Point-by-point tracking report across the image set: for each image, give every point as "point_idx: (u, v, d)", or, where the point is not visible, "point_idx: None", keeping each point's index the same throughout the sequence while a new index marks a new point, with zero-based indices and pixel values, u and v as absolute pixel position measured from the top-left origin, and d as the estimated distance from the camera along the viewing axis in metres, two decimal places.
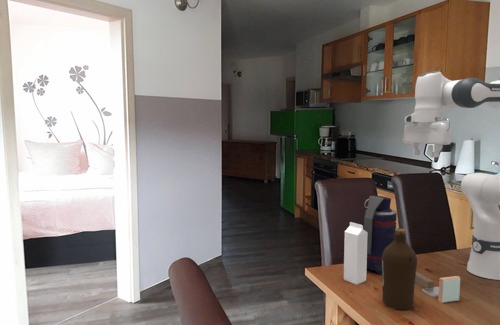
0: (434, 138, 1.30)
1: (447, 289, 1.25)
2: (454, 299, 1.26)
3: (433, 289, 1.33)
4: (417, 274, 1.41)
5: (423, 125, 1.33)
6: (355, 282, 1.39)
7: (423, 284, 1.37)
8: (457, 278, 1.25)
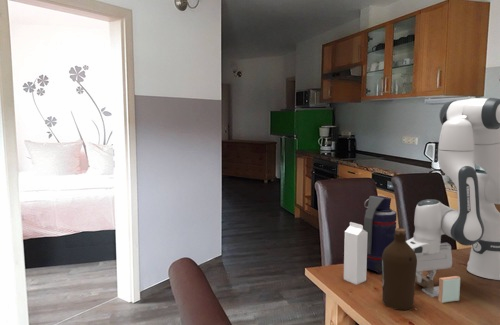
0: (443, 263, 1.36)
1: (447, 289, 1.25)
2: (454, 299, 1.26)
3: (433, 289, 1.33)
4: None
5: (435, 254, 1.34)
6: (355, 282, 1.39)
7: (423, 284, 1.37)
8: (457, 278, 1.25)
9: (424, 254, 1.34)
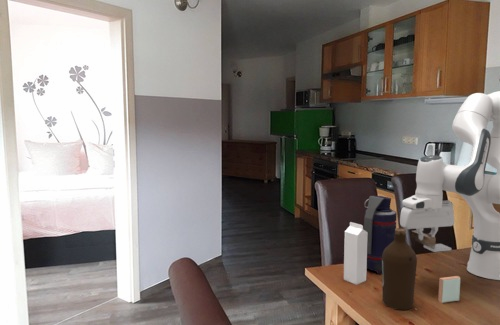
0: (445, 221, 1.35)
1: (447, 289, 1.25)
2: (454, 299, 1.26)
3: (435, 245, 1.31)
4: None
5: (437, 210, 1.32)
6: (355, 282, 1.39)
7: (424, 242, 1.35)
8: (457, 278, 1.25)
9: (426, 210, 1.32)
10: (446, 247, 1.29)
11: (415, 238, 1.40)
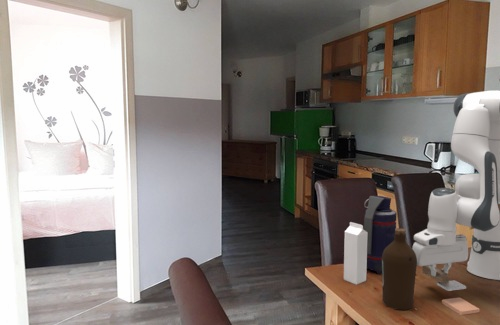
0: (458, 256, 1.29)
1: None
2: None
3: (449, 283, 1.26)
4: None
5: (450, 246, 1.27)
6: (355, 282, 1.39)
7: (437, 278, 1.29)
8: None
9: (439, 246, 1.26)
10: (460, 285, 1.24)
11: (427, 273, 1.34)
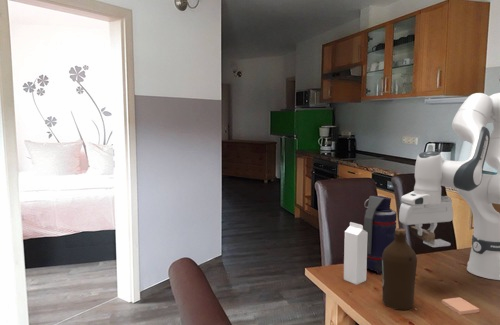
0: (444, 216, 1.35)
1: None
2: None
3: (434, 241, 1.32)
4: None
5: (435, 206, 1.33)
6: (355, 282, 1.39)
7: (423, 237, 1.35)
8: None
9: (425, 206, 1.33)
10: (445, 242, 1.30)
11: (414, 234, 1.40)
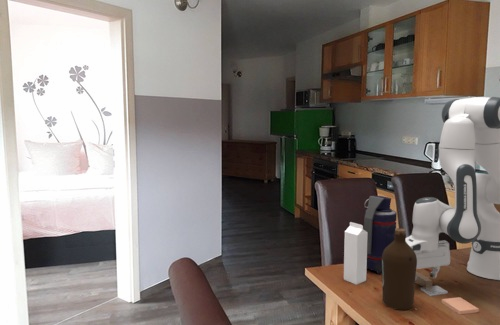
0: (441, 261, 1.37)
1: None
2: None
3: (432, 288, 1.34)
4: (416, 273, 1.42)
5: (433, 251, 1.35)
6: (355, 282, 1.39)
7: (421, 283, 1.37)
8: None
9: (422, 251, 1.35)
10: (442, 290, 1.32)
11: None
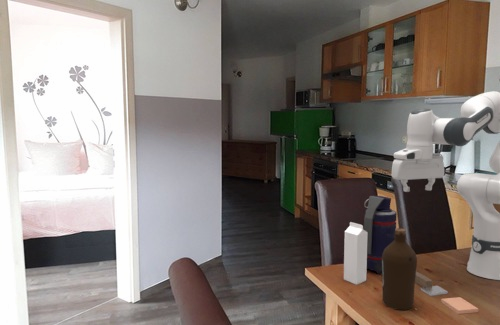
0: (435, 173, 1.39)
1: None
2: None
3: (432, 288, 1.34)
4: (416, 273, 1.42)
5: (427, 161, 1.36)
6: (355, 282, 1.39)
7: (421, 283, 1.37)
8: None
9: (416, 161, 1.36)
10: (442, 290, 1.32)
11: None
